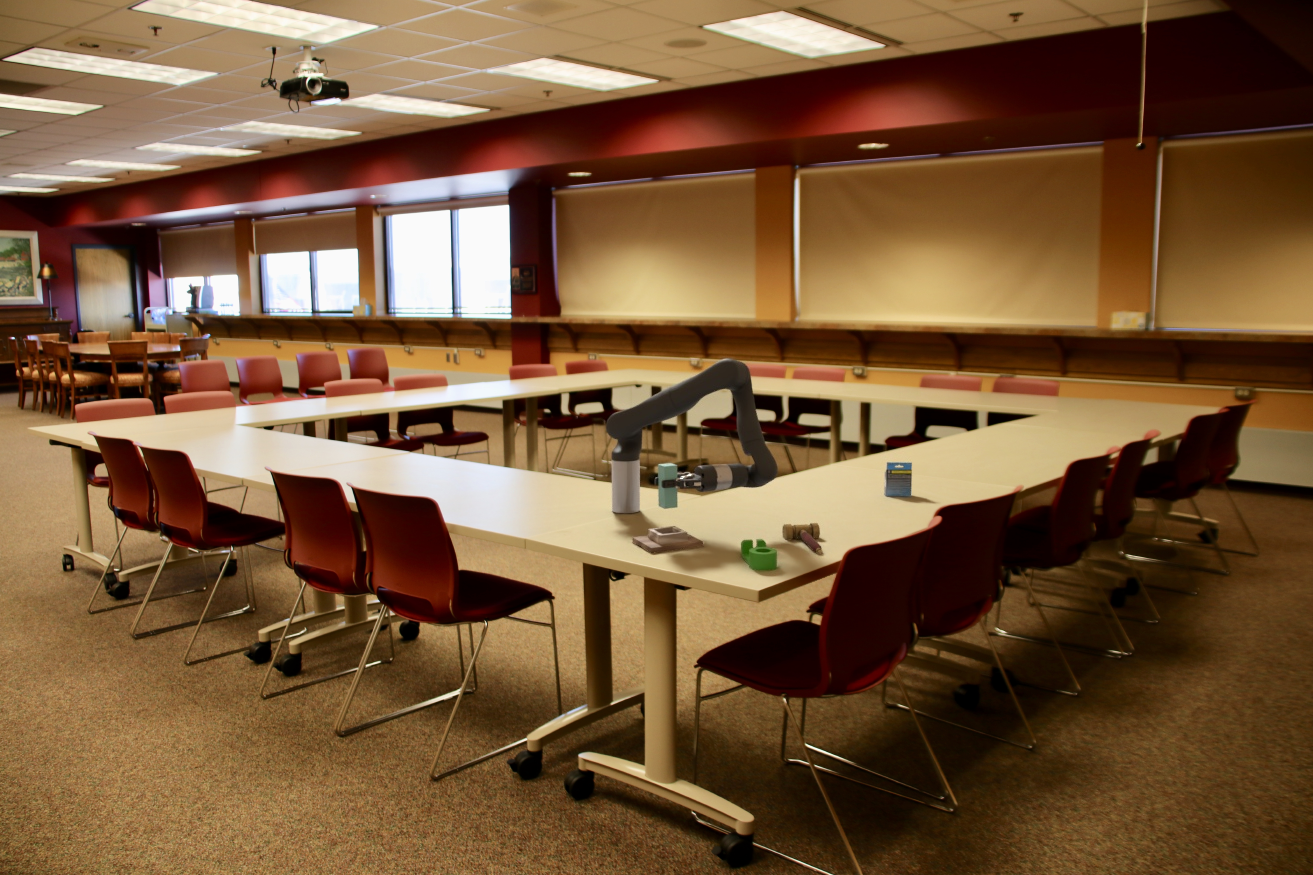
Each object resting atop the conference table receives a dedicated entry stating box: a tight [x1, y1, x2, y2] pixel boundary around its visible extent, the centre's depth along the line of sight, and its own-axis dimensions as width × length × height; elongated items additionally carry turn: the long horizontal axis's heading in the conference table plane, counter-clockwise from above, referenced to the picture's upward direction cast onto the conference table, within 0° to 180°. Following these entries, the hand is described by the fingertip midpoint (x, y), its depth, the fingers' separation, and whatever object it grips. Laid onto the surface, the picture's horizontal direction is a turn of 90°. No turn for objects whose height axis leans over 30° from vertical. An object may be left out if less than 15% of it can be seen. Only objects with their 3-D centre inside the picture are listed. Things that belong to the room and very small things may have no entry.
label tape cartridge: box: [883, 461, 913, 498], centre depth 319 cm, size 9×4×12 cm, turn 84°
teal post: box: [657, 462, 678, 510], centre depth 253 cm, size 4×4×12 cm
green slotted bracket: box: [740, 538, 778, 572], centre depth 237 cm, size 15×7×5 cm, turn 7°
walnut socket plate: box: [632, 525, 704, 554], centre depth 255 cm, size 13×16×4 cm
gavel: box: [781, 522, 823, 555], centre depth 254 cm, size 21×5×10 cm
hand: (658, 483), depth 252 cm, fingers closed on teal post, 4 cm apart
